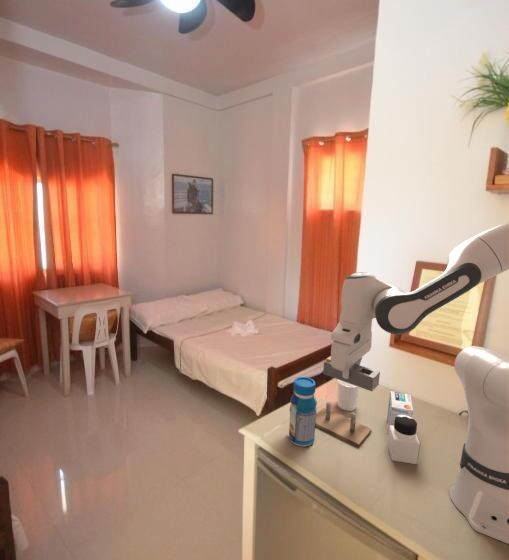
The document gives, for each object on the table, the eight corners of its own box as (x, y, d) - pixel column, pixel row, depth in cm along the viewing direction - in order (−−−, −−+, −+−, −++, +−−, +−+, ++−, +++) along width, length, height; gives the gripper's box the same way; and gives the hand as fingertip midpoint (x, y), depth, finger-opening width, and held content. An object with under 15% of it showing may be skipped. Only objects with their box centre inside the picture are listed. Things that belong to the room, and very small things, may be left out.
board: (371, 432, 110) (373, 412, 109) (358, 447, 103) (360, 427, 101) (323, 410, 121) (324, 392, 120) (308, 423, 114) (309, 404, 113)
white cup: (331, 403, 127) (333, 379, 125) (347, 398, 130) (349, 374, 128) (346, 414, 120) (348, 388, 118) (362, 408, 123) (364, 384, 121)
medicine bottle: (417, 465, 96) (422, 428, 94) (391, 461, 97) (395, 424, 95) (411, 448, 103) (415, 413, 100) (387, 444, 104) (391, 410, 102)
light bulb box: (386, 417, 118) (389, 390, 116) (407, 422, 116) (410, 394, 114) (387, 436, 108) (390, 406, 106) (409, 441, 106) (413, 411, 104)
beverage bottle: (305, 451, 100) (309, 391, 96) (283, 439, 106) (285, 381, 102) (319, 438, 107) (323, 381, 103) (297, 426, 112) (300, 372, 108)
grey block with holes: (378, 384, 94) (380, 369, 94) (372, 391, 91) (373, 376, 90) (330, 368, 104) (331, 354, 103) (323, 373, 100) (324, 359, 99)
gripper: (359, 318, 104) (355, 359, 107) (327, 335, 89) (324, 382, 91) (379, 322, 100) (374, 365, 103) (350, 341, 85) (345, 390, 87)
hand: (350, 373), depth 97 cm, fingers closed on grey block with holes, 5 cm apart
